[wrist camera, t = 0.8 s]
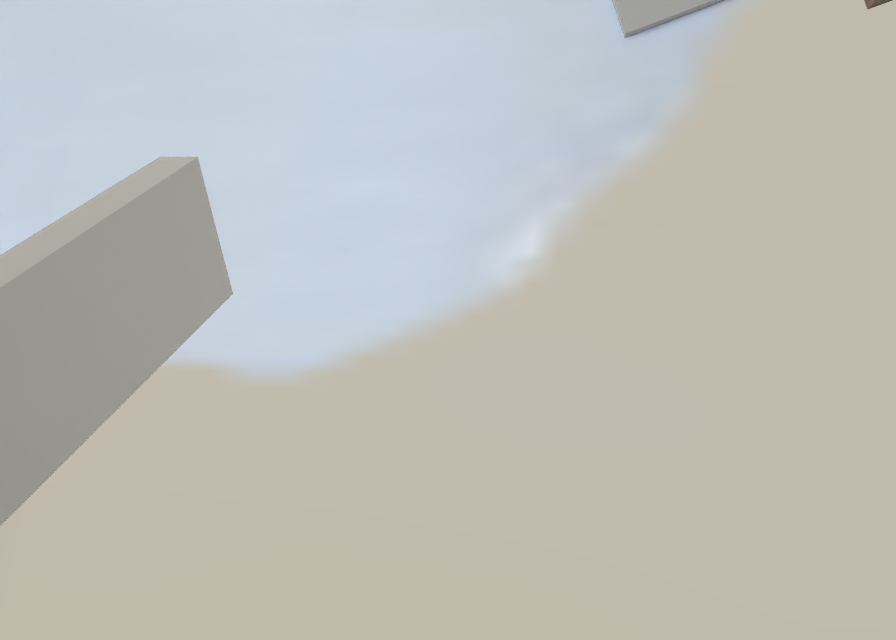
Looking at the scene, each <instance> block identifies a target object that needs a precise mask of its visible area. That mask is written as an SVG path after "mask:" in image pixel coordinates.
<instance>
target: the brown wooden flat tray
mask: <svg viewBox="0 0 896 640" xmlns="http://www.w3.org/2000/svg"><path fill="white" fill-rule="evenodd" d="M889 1H892V0H865V3H866V6H867V9H870V8H872V7H875V6H878V5H881V4H883V3H886V2H889Z"/></svg>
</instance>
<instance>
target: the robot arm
mask: <svg viewBox="0 0 896 640" xmlns="http://www.w3.org/2000/svg"><path fill="white" fill-rule="evenodd" d="M232 294H233V293H232V289H231V285H230V281H229V277H228V273H227V269H226V266H225V262H224V258H223V254H222V250H221V246H220V242H219V238H218V235H217V231H216V227H215V223H214V219H213V215H212V211H211V207H210V204H209V200H208V196H207V192H206V188H205V184H204V180H203V176H202V173H201V169H200V165H199V161H198V157H159V158H157V159H156V160H154V161H153V162H151V163H149V164H148V165H146V166H144V167H143V168H141V169H140V170H138V171H136V172H135V173H133V174H131V175H130V176H128V177H127V178H125V179H123V180H122V181H120V182H119V183H117V184H115V185H114V186H112V187H110V188H109V189H107V190H106V191H104V192H102V193H101V194H99V195H97V196H96V197H94V198H93V199H91V200H89V201H88V202H86V203H84V204H83V205H81V206H80V207H78V208H76V209H75V210H73V211H71V212H70V213H68V214H67V215H65V216H63V217H62V218H60V219H58V220H57V221H55V222H54V223H52V224H50V225H49V226H47V227H46V228H44V229H42V230H41V231H39V232H37V233H36V234H34V235H33V236H31V237H29V238H28V239H26V240H24V241H23V242H21V243H20V244H18V245H16V246H15V247H13V248H11V249H10V250H8V251H7V252H5V253H3V254H2V255H0V526H1V525H2V524H3V523H4V521H6V520H7V519H8V518H9V517H10V516H11V515H12V514H13V513H14V512H15V511H16V510H17V509H18V508H19V507H20V506H21V505H22V504H23V503H24V502H25V501H26V500H27V499H28V498H29V497H30V496H31V495H32V494H33V493H34V492H35V491H36V490H37V489H38V488H39V487H40V486H41V485H42V484H43V483H44V482H45V481H46V480H47V479H48V478H49V477H50V476H51V475H52V474H53V473H54V472H55V471H56V470H57V469H58V468H59V467H60V466H61V465H62V464H63V463H64V462H65V461H66V460H67V459H68V458H69V457H70V456H71V455H72V454H73V453H74V452H75V451H76V450H77V449H78V448H79V447H80V446H81V445H82V444H83V443H84V442H85V441H86V440H87V439H88V438H89V437H90V436H91V435H92V434H93V433H94V432H95V431H96V430H97V429H98V428H99V427H100V426H101V425H102V424H103V423H104V422H105V421H106V420H107V419H108V418H109V417H110V416H111V415H112V414H113V413H114V412H115V411H116V410H117V409H118V408H119V407H120V406H121V405H122V404H123V403H124V402H125V401H126V400H127V399H128V398H129V397H130V396H131V395H132V394H133V393H134V392H135V391H136V390H137V389H138V388H139V387H140V386H141V385H142V384H143V383H144V382H145V381H146V380H147V379H148V378H149V377H150V376H151V375H152V374H153V373H154V372H155V371H156V370H157V369H158V368H159V367H160V366H161V365H162V364H163V363H164V362H165V361H166V360H167V359H168V358H169V357H170V356H171V355H172V354H173V353H174V352H175V351H176V350H177V349H178V348H179V347H180V346H181V345H182V344H183V343H184V342H185V341H186V340H187V339H188V338H189V337H190V336H191V335H192V334H193V333H194V332H195V331H196V330H197V329H198V328H199V327H200V326H201V325H202V324H203V323H204V322H205V321H206V320H207V319H208V318H209V317H210V316H211V315H212V314H213V313H214V312H215V311H216V310H217V309H218V308H219V307H220V306H221V305H222V304H223V303H224V302H225V301H226V300H227V299H228V298H229V297H230V296H231V295H232Z"/></svg>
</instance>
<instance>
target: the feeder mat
mask: <svg viewBox="0 0 896 640" xmlns="http://www.w3.org/2000/svg"><path fill="white" fill-rule="evenodd" d="M612 1H613V4H614V7H615V10H616V13H617V16H618V19H619V22H620V25H621V28H622V31H623V34H624V36H625V37H628V36H630V35H633V34H636V33H638V32H641V31H644V30H646V29H649V28H652V27H654V26H657V25H660V24H662V23H665V22H668V21H670V20H673V19H675V18H678V17H681V16H683V15H686V14H689V13H691V12H694V11H697V10H699V9H702V8H705V7H707V6H710V5H713V4H715V3H718V2H720V1H723V0H612Z"/></svg>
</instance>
